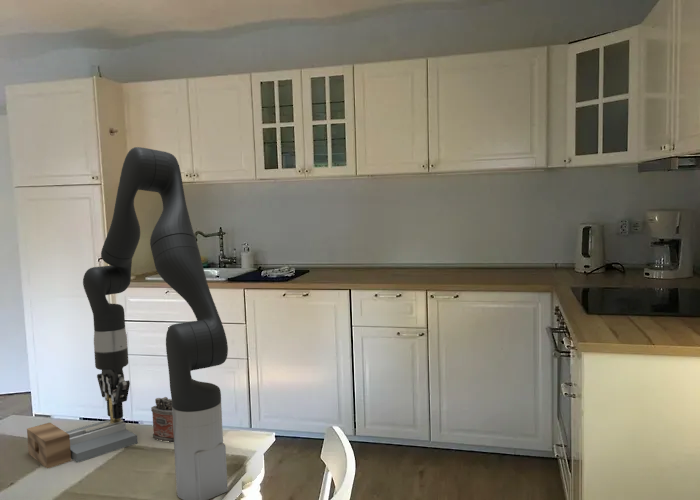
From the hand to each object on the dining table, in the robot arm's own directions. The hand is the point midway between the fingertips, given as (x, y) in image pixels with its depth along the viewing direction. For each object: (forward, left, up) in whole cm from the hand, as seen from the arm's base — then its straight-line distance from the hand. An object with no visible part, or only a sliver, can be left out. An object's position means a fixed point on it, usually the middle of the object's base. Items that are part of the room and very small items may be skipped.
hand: (115, 416), depth 142 cm
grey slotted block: (0, +6, -5) cm, 7 cm away
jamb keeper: (0, +16, -5) cm, 16 cm away
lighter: (-11, -8, -5) cm, 14 cm away
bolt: (0, +3, -3) cm, 4 cm away
